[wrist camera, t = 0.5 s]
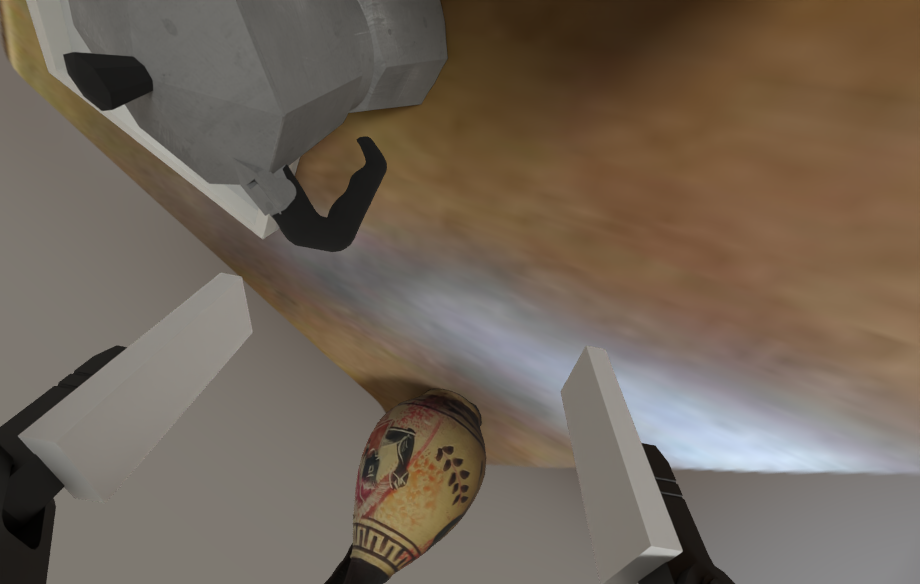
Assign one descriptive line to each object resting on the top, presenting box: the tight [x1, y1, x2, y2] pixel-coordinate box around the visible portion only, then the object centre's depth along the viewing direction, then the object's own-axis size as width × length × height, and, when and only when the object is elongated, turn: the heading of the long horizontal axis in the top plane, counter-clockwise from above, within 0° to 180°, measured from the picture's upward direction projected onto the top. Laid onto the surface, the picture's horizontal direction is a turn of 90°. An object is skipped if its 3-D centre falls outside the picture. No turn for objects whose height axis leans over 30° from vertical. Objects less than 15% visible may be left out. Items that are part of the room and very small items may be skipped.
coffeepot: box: [63, 0, 448, 252], centre depth 17 cm, size 15×9×18 cm, turn 31°
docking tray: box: [26, 0, 300, 239], centre depth 31 cm, size 17×25×2 cm
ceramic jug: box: [324, 389, 486, 584], centre depth 41 cm, size 17×15×30 cm
